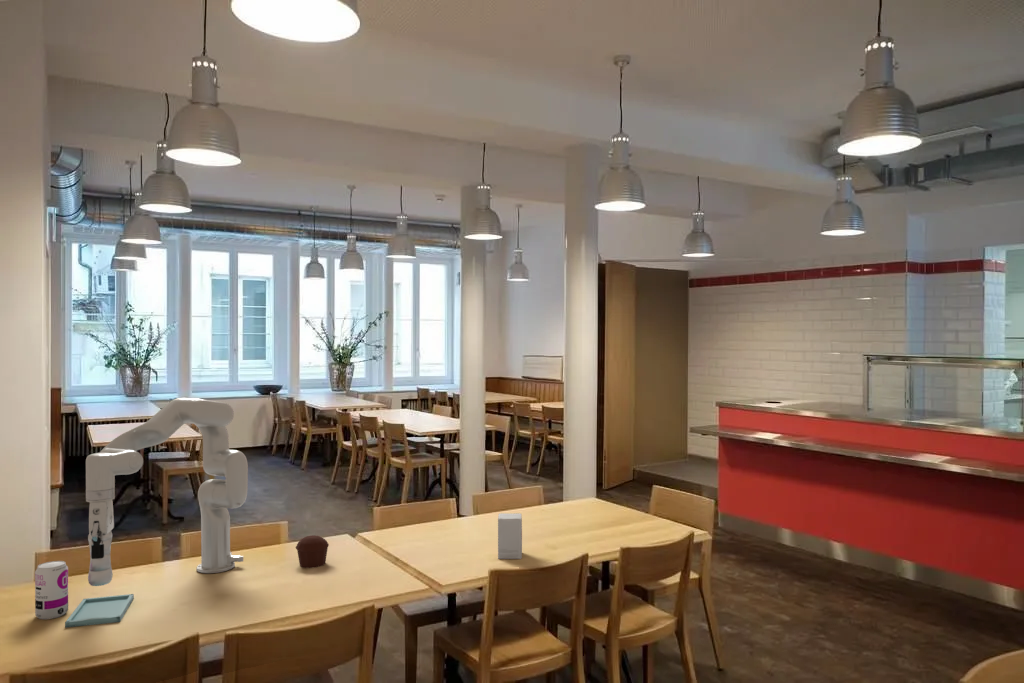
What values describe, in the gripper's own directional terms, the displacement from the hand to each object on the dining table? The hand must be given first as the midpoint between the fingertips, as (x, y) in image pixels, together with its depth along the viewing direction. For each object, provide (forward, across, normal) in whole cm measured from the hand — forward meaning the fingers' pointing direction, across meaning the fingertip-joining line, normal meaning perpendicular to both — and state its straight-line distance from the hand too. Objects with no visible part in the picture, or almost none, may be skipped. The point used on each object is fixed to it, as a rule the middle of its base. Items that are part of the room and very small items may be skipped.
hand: (100, 554), depth 218 cm
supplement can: (+18, +2, +13) cm, 22 cm away
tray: (+17, 0, 0) cm, 17 cm away
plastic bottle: (+9, 0, 0) cm, 9 cm away
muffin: (+17, +29, -62) cm, 71 cm away
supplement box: (+17, +16, -133) cm, 135 cm away
